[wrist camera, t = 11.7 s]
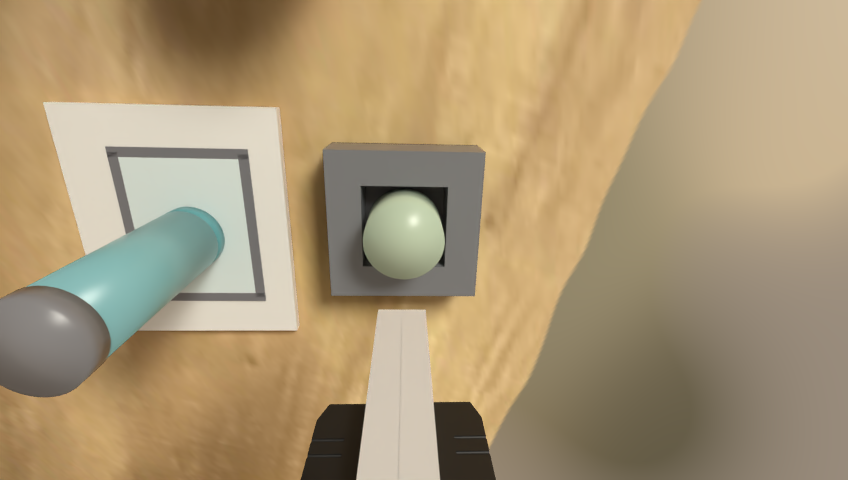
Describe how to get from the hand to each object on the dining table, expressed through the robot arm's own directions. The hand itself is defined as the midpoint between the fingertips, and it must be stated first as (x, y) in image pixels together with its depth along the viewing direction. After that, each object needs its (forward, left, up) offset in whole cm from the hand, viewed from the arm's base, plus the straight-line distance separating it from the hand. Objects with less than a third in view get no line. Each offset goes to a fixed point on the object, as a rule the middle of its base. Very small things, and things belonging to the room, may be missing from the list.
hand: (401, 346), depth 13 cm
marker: (+1, -14, -14) cm, 20 cm away
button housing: (0, 0, -15) cm, 15 cm away
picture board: (+1, -14, -15) cm, 20 cm away
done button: (0, 0, -13) cm, 13 cm away
